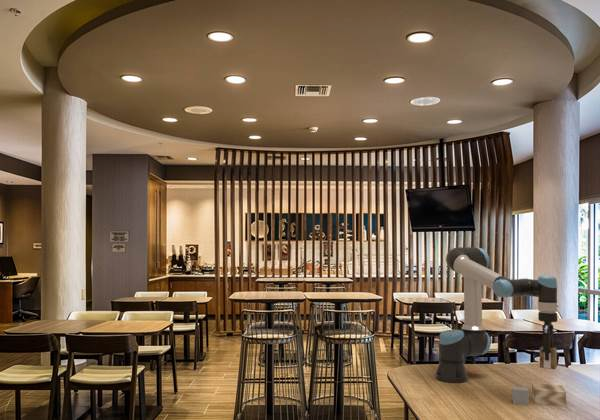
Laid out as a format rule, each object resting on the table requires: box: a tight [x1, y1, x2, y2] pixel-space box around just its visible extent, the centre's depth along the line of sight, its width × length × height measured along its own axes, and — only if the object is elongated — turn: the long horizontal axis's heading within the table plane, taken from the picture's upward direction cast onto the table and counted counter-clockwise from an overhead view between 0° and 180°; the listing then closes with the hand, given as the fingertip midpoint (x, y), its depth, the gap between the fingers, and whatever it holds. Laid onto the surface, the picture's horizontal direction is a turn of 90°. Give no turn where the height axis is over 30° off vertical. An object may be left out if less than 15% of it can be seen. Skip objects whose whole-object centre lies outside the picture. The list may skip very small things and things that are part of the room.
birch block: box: [531, 382, 567, 408], centre depth 243 cm, size 12×12×6 cm
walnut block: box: [539, 346, 558, 370], centre depth 244 cm, size 6×6×8 cm
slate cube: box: [511, 385, 530, 406], centre depth 240 cm, size 6×6×6 cm
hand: (548, 366), depth 243 cm, fingers closed on walnut block, 6 cm apart
